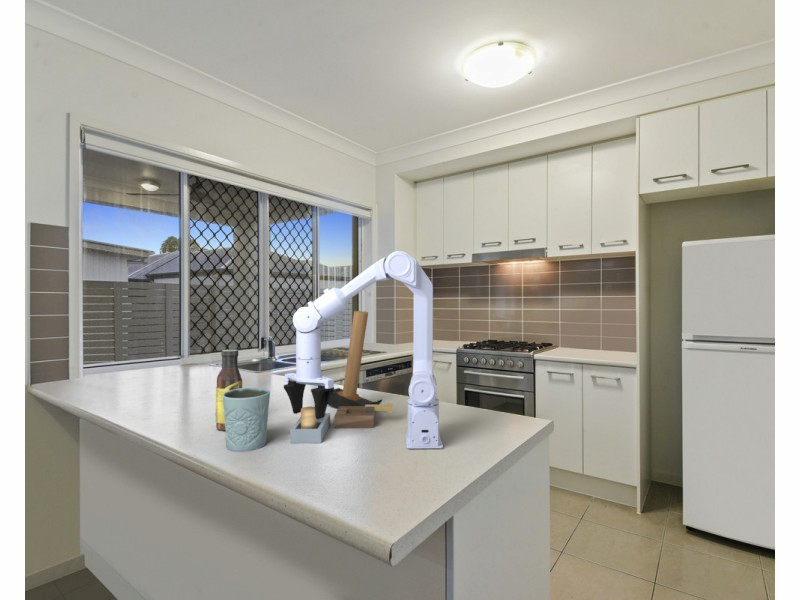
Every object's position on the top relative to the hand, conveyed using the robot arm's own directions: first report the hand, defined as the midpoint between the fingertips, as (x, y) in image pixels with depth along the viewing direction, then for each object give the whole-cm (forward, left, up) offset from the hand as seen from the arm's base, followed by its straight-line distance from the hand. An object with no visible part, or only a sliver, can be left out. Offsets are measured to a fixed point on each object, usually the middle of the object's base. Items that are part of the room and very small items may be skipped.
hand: (308, 415), depth 99 cm
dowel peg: (0, 0, -5) cm, 5 cm away
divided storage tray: (+4, 0, -5) cm, 6 cm away
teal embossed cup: (-4, +13, -6) cm, 15 cm away
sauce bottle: (+8, +22, -6) cm, 24 cm away
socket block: (+12, -10, -5) cm, 17 cm away
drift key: (+13, -16, -2) cm, 21 cm away
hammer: (+26, -7, -6) cm, 28 cm away
